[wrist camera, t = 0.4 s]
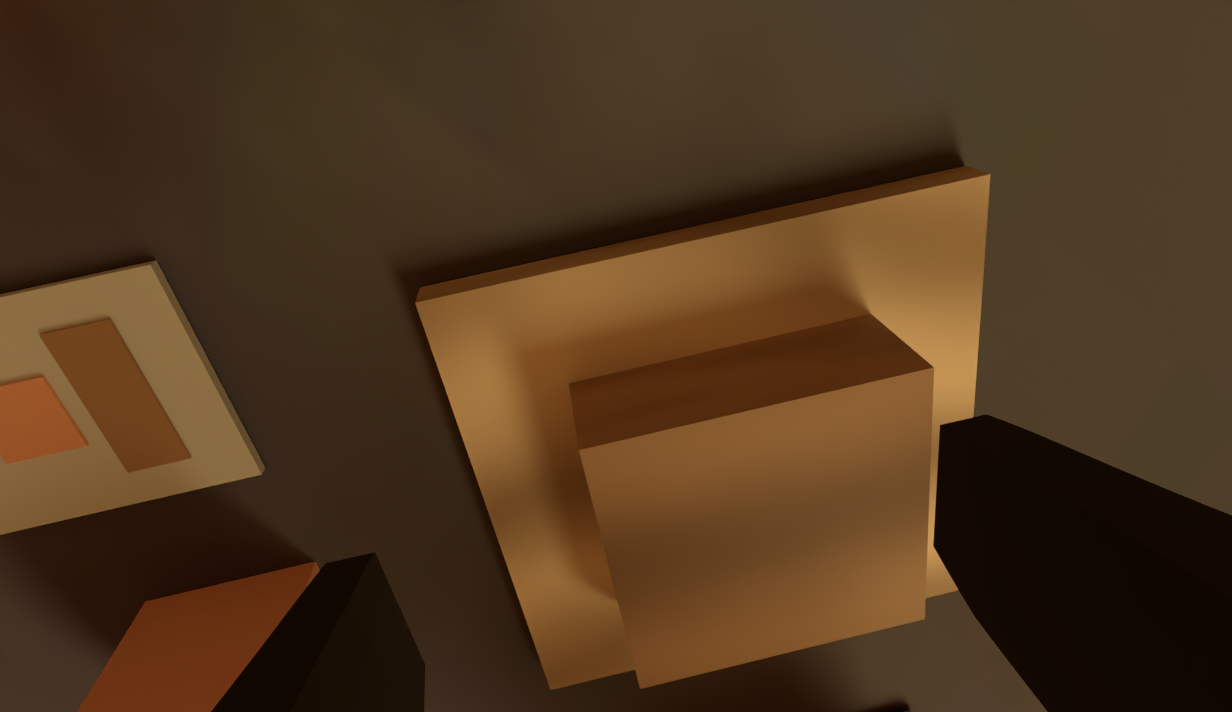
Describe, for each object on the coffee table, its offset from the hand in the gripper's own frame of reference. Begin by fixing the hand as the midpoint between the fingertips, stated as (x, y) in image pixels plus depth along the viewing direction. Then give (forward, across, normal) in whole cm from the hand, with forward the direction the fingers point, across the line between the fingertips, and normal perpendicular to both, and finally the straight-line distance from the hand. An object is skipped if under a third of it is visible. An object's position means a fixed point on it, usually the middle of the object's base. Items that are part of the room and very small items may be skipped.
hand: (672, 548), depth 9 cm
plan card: (+10, +13, 0) cm, 16 cm away
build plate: (+10, -3, +6) cm, 12 cm away
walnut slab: (+9, -3, +6) cm, 11 cm away
